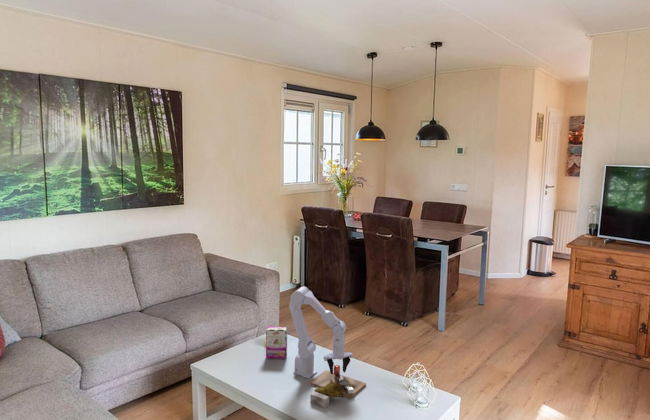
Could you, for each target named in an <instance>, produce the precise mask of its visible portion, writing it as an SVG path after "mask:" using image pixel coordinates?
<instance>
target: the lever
mask: <svg viewBox="0 0 650 420" xmlns="http://www.w3.org/2000/svg"><path fill="white" fill-rule="evenodd" d="M333 373H334V375H335V378H336V379H337V381H338V382H339V383H340V384H341V385H342V386H343V388H344V389H345V390H346V392H347V394H353V393H354V389H353V388H352V387H350V386H349V381H348V380H346V379H343V378H342V377H341V376H340V375H341V366H340V365H339V364H335V365H333Z"/></svg>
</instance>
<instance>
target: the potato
mask: <svg viewBox="0 0 650 420" xmlns="http://www.w3.org/2000/svg"><path fill="white" fill-rule="evenodd" d="M314 391H315V392H318V393H320V394H323V395H326V396H329V399H333V398H340V397H341V394H342V392H343V386H342V385H341V384H340V383H337V382H334V383H330V384H328V385H326V386H322V387H319V388H318V387H315V389H314Z"/></svg>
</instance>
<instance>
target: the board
mask: <svg viewBox="0 0 650 420" xmlns="http://www.w3.org/2000/svg"><path fill="white" fill-rule="evenodd" d="M340 376H341V377H342V378H343V379H346V380H348V381H349V386H350V387H352V388H353V389H354V393H353V394H347V392H346V390H345V389H344V388H343V392H342V394H341V396H342V397H345V398H346V399H350V400H351V399H353V397H354V396H356V395H357V394H359V392H361V391H362V390H363V389H364V388H365V387H366V386H367V383H366V382H363V381H361V380H357V379H355V378H351V377H349V376H345V375H342V374H340ZM334 382H337V383H339V382H338V381H337V379H336V378H335V375H334V372H333V374H331V373H330V370H324V371H323V372H321V373H320V374H318V375H317V376H316V377H314V378H313V379H311V380H310V381H309V383H308V384H309V385H310V386H313V387H315V388H319V387H322V386H326V385H328V384H330V383H334ZM341 396H340V397H341ZM309 399H310V404H314V405H317V406H319V407H322V408H324V409H327V407H329V406H330V398H329V396H326V395H323V394H320V393H318V392H315V390H314V391H313V392H311V393H310V398H309Z"/></svg>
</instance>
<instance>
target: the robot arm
mask: <svg viewBox="0 0 650 420" xmlns="http://www.w3.org/2000/svg"><path fill="white" fill-rule="evenodd" d="M289 298H290V300H289V304H288V308H289V312H290V314H291V315H290V316H291V318H292V319H291V320H292V322H293V324H294V328H295V332H296V335H297V339H298V343H297V349H298V351H297V354H296V356H295V357H294V368H293V369H294V370H293V374H295V375H298V376H301V377H304V378H306V379H310V378H311V377H312V376H314V375H315V374H317V373H318V371H317V370H316V369H314V368H315V367H314V366H315V353H314V352H315V351H316V349H317V346H316V344H315V342H314V341H313V338H312V337H311V336H309V332H308V329H307V326H306V322H305V319H304V316H303V311H302V308H301V306H302V305H310V306H311V307H312V308H313V309H314V310H315V311H316V312H317V313H318V314H320V315H321V320H322V321H323V322H324V323H325V324H326V325H327V326H328V327H329V328H330V329H331V333H332V335H333V337H332V353H329V354H325V355H323V360H324V361H326V362H327V365H328V367H329V371H330V373H331V374H333V373H334V364H335V363H334V360H339V361H340V360H342V372H343V373H346V371H347V368H348V366H349V364H350V362H351V358H352V359H353V356H354V354H353V352H345V341H346V339H345V337H346V335H345V333H346V332H345V331H346V330H347V324H346V323H345V321H344V320H341V319H339V318H338V317H337V316H336V315H335V313H334V312H333V311H331V310H327V309H326V308H325V307H324V306H323V305H322V304H321V303H320V301H319V300H318V299H317V298H316V296H314V294H313V291H312V290H310V289H309V288H308V287H307V286H304V285H303V286H300V287H299V288H297V290H295V291H293V292H292V293H291V295H290V296H289Z"/></svg>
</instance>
